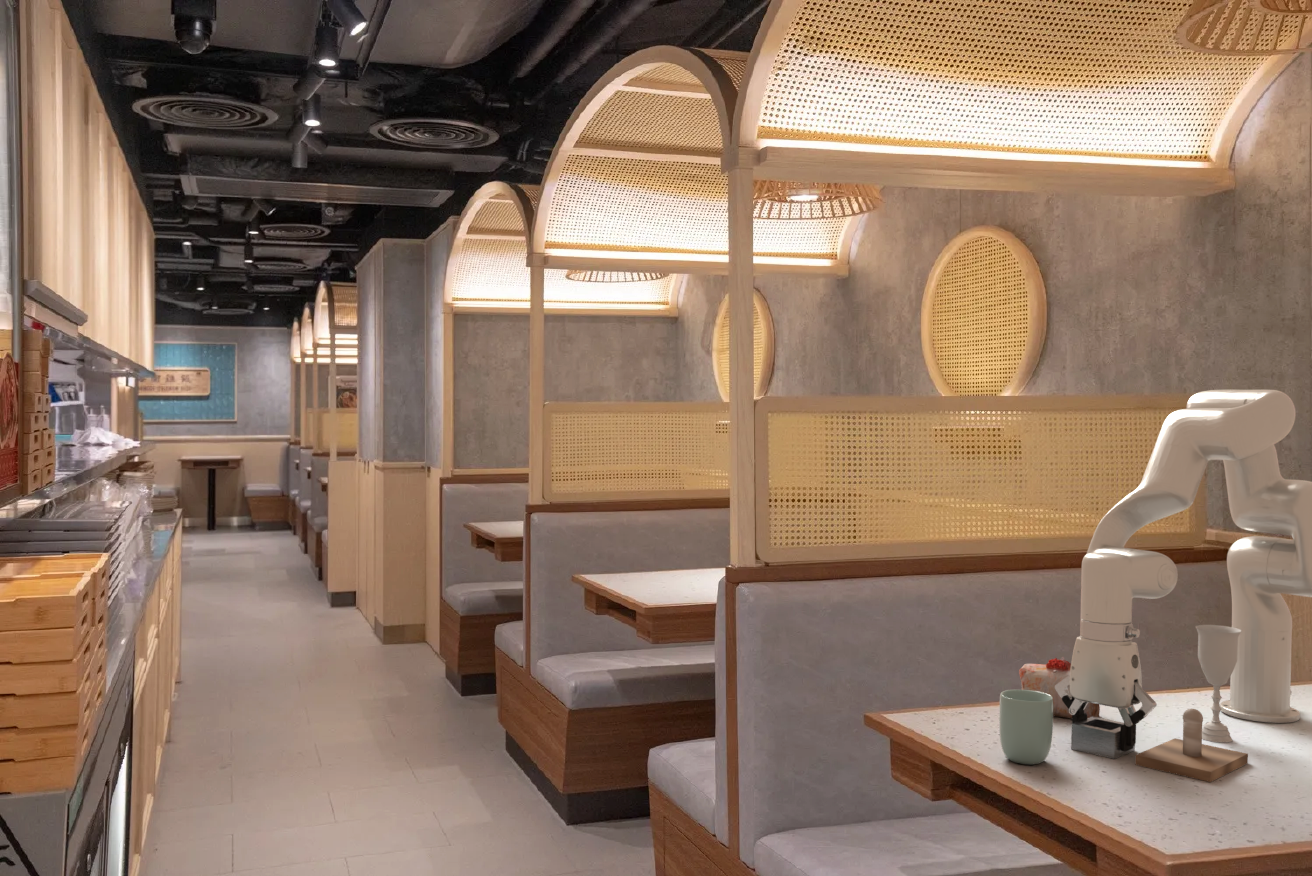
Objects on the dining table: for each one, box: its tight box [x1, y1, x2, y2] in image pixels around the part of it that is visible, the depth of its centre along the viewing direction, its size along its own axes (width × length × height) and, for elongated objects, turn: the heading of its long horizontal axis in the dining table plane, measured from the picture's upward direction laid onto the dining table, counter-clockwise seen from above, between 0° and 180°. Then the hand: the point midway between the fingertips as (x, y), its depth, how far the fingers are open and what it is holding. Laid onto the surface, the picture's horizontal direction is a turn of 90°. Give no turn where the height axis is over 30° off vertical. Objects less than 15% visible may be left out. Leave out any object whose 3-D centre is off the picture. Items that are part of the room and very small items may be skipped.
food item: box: [1018, 656, 1101, 720], centre depth 206 cm, size 14×8×10 cm, turn 58°
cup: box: [998, 689, 1054, 765], centre depth 177 cm, size 8×8×10 cm
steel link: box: [1070, 716, 1136, 760], centre depth 184 cm, size 7×7×4 cm
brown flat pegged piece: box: [1134, 708, 1249, 783], centre depth 177 cm, size 14×11×8 cm
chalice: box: [1195, 624, 1241, 743], centre depth 191 cm, size 7×7×18 cm
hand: (1103, 743), depth 184 cm, fingers closed on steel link, 7 cm apart
